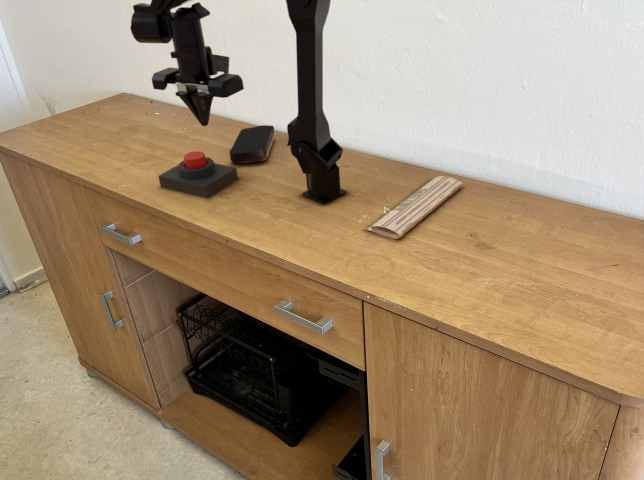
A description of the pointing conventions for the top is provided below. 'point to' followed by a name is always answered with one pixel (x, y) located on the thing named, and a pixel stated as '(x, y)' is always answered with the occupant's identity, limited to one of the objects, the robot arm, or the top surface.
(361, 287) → the top surface
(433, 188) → the newspaper
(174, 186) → the grey button base
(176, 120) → the top surface
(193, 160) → the power button
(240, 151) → the black sponge
